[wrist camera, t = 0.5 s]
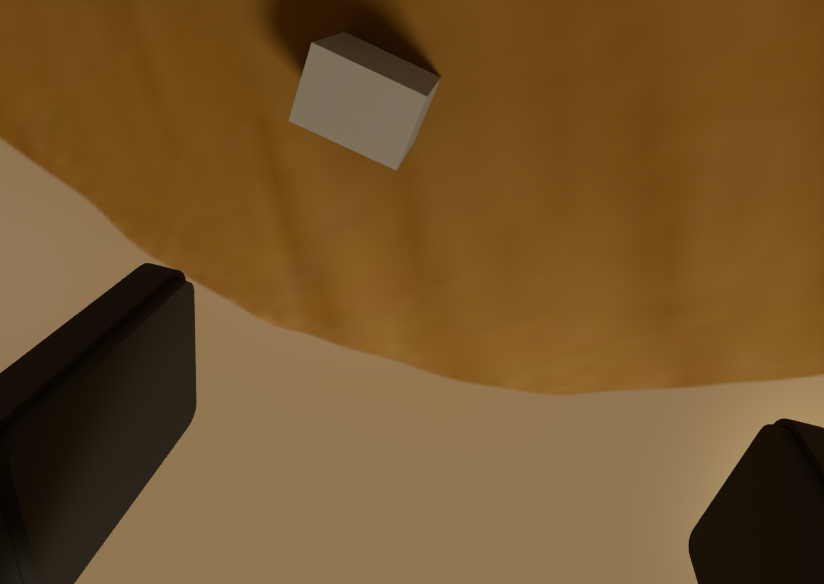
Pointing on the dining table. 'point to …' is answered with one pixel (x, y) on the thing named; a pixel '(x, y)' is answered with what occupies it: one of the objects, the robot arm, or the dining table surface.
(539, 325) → the dining table surface
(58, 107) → the dining table surface
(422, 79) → the block
